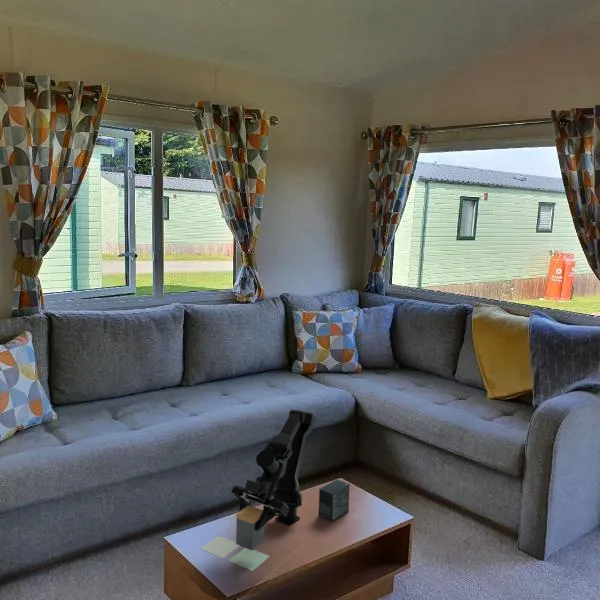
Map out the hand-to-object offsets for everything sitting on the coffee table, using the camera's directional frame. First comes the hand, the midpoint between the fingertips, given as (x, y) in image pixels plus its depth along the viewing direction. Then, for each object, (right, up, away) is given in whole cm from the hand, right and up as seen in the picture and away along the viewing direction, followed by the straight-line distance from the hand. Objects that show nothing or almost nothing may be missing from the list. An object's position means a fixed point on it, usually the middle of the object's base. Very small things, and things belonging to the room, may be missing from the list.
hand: (247, 527), depth 177 cm
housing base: (0, -5, +2) cm, 6 cm away
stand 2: (0, -12, +3) cm, 12 cm away
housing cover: (+1, +3, +1) cm, 3 cm away
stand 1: (-9, -10, +8) cm, 16 cm away
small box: (+28, -8, +33) cm, 44 cm away
